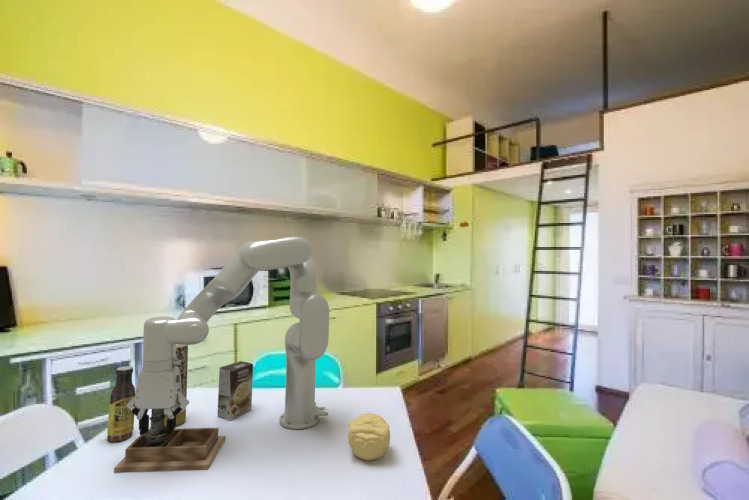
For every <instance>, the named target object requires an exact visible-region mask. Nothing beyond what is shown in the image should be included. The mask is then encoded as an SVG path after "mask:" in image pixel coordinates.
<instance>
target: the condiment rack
mask: <svg viewBox="0 0 749 500" xmlns="http://www.w3.org/2000/svg"><path fill="white" fill-rule="evenodd" d="M149 429H150V428H149ZM149 429H148V430H149ZM219 430H220V429H219V427H202V428H201V427H195V428H193V427H192V428H191V427H190V428H189V427H188V428H185V427H184V428H175V429H174V430H173V431H172V432H171V433H170V434H168V436H167V438H166V439H165V440H167V441H168V445H167V446H165V447H145V446H146V445H147V444H148V443H149V442H147V440H146V438H145V436H144V434H143V435H140V434H139V436H138V437H137V438H136V439H135V440H134V441H132V443H130V444H129V445H128V447H126V448H125V450H124V451H125V456H124V457H123V458H122V459H121V461H119V462H118V463H117V464H116V465H115V466H114V467H113V473H137V472H138V473H141V472H144V473H145V472H167V471H168V472H172V471H173V472H175V471H199V470H200V471H201V470H202V471H203V470H204V471H205V470H206V471H207V470H209V468H210V467H211V465H212V463H213V461H214V460H215V458H216V457H217V455H218V453H219V451H220V450H221V448H222V446H223V445H224V443H225V441H226V435H219Z"/></svg>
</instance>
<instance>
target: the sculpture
mask: <svg viewBox="0 0 749 500" xmlns="http://www.w3.org/2000/svg"><path fill="white" fill-rule="evenodd" d="M347 439H348V444H349V447H350V449H351V451H352V453H353V454H354V455H355V456H356V457H357V458H359V459H361V460H363V461H364V460H365V461H375V459H376V460H378V459H380V458H382V457H383V456H384V455H385V454H386V453H387V451H388V449H389V446H390V443H391V431H390V425H389V423H388V422H387V421H386V420H385V419H384V418H383V417H382V416H380V415H379V414H376V413H370V412H369V413H362V414H361V413H360V414H359V415H358V417H355V418H354V419H352V420H350V421H349V422H348V434H347Z"/></svg>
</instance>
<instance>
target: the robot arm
mask: <svg viewBox="0 0 749 500" xmlns="http://www.w3.org/2000/svg"><path fill="white" fill-rule="evenodd" d="M312 252H313V249H312V245H311V243H310V242H309V241H308V239H306V238H304V237H301V236H285V237H284V236H283V237H281V238H279V239H272V240H257V241H256V240H254V241H248V242H247V241H246V242H245V243H244V244H243V245H241V246H240V248H238V250H237V251H236V252H235V253H234V254H233V256H232V257H231V258H230V259H229V260H228V261H227V263H226V264H225V265H224V266H223V268H222V269H220V271H219V272H218V273H217V274H216V275H215V277H214V278H213V279H212V280H210V282H209V283H207V284H206V286H205V287H204V288H203V289H202V290H201V291H200V292H199V293H198V294H197V295H196V296H195V297H194V298H193V299H192V300H191V301H190V303H189V304H188V305H187V306H186V307H185V309H184V310H183V311H182V312H181V314H179V316H178V317H177V319H175V318H174V317H171V316H155V317H151V318H148V319H146V320H145V321H144V324H143V337H142V339H143V340H142V341H143V343H142V345H143V346H142V369H141V370H140V371H139V373H138V377H137V382H136V387H135V396H134V397H133V398H132V399H131V400H130V401H129V402H128V403H127V404H126V406H127V407H128V408H129V409H130V410H132V412H133V413H134V416H135V417H136V419H137V420H138V431H139V436H140V435H143V434H144V433H145V432H146V431H147V430H148V429H150V414H148V412H149V410H152V409H166V411H167V414H168V416H169V418H168V419H167V426H166V434H170V433H171V432H172V431H173V430H174V429H176V427H177V426H176V415H177V414H178V413H179V412H180V411H181V410H183V409H184V408H185V407H186V408H187V407H188V405H189V404H190V401H189V399H186V398H185V397H184V396H183V395H182V386H181V376H180V371H179V367H175V366H176V365H180V364H181V360H178V359H176V344H182V345H188V346H191V345H192V346H193V345H198V344H200V343H203V341H205V340H206V338H208V335H209V333H210V328H209V324H208V322H209V320H210V319H211V318H212V317H213V316H214V314H215V313H216V312H217V311H218V310H219V309H220V308H221V307H223V305H225V304H227V303H229V302H231V301H232V300H235V299H236V298H237V297H239V296H240V295H241V294H242V292H243V291H244V290H245V289H246V288H247V286H248V285H249V284H250V282H251V281H252V280H253V279H254V277H255V276H256V275H257V274H258V273H259V272H263V271H265V272H266V271H272V270H278V269H283V268H287V269H288V271H289V276H290V277H289V278H290V286H289V287H290V290H289V312H290V313H291V315H292V316H294V317H295V318H296V319H298V320H299V322H296V323H293V324H292V325H290V326H289V327H288V329H287V330H286V332H285V336H284V348H285V359H286V360H285V367H286V368H285V390H284V391H285V392H284V393H285V394H284V396H285V397H284V399H285V400H284V412H283V413H281V414H280V416H279V424H280V425H281V426H282V427H284V428H286V429H291V430H303V429H307V428H311V427H313V426H315V425H316V424H317V423H318V422H319V420H320V417H321V416H322V417H328V416H329V409H326V408H325V407H326V406H319V407H318V406H317V402H316V378H317V377H316V376H317V375H316V373H317V362H316V361H317V360H318V359H320V358H322V357H323V356H324V355H325V353H326V351H327V349H328V345H329V336H330V334H329V333H330V332H329V331H330V305H329V304H328V301H327V299H326V298H325V297H324V296H323V295H322V294H320V293H318V274H317V267H316V264H315V262H314V261H315V260H314V259H313V258H312ZM176 402H180V403H181V405H180V406H179V407H178V408H177V407H176Z"/></svg>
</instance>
